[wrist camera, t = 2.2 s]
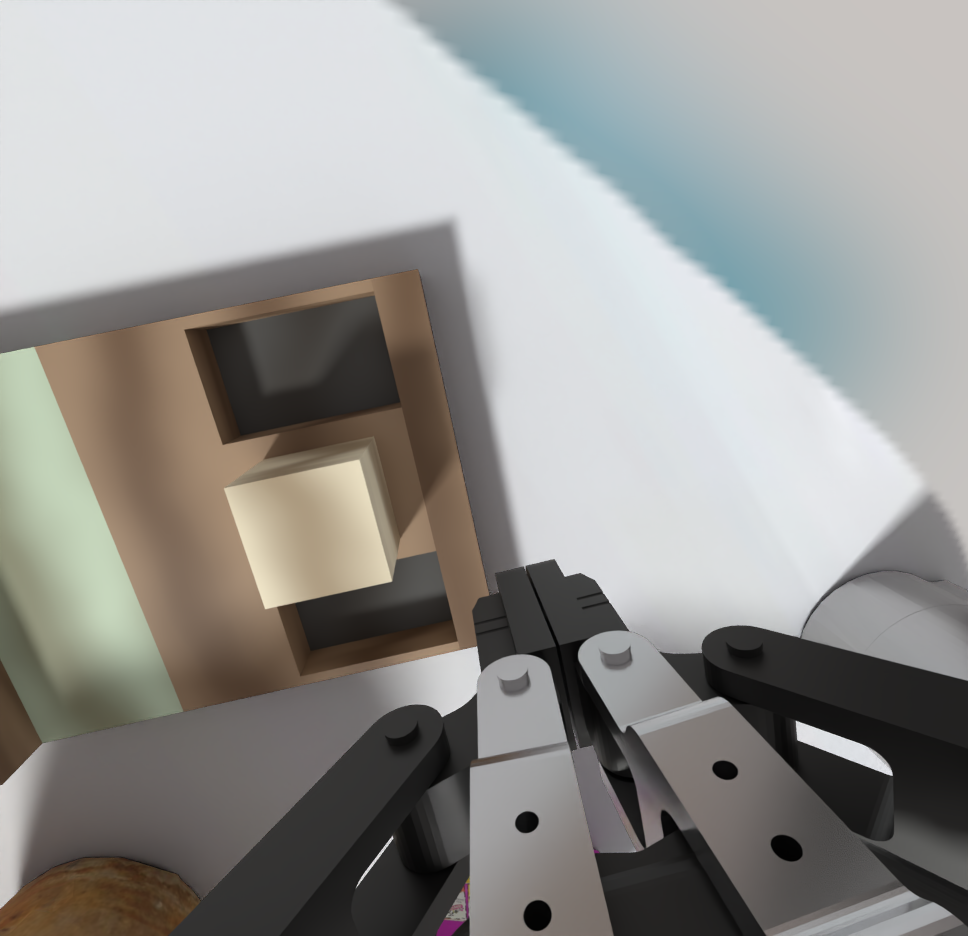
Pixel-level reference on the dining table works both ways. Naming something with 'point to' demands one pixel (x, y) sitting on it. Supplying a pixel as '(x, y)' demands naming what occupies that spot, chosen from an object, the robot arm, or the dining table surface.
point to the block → (316, 522)
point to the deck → (214, 508)
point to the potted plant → (99, 901)
